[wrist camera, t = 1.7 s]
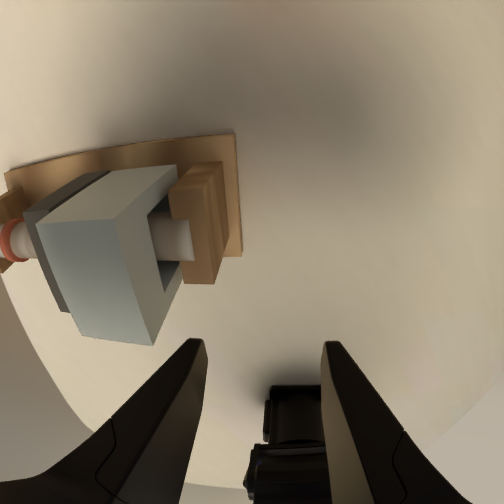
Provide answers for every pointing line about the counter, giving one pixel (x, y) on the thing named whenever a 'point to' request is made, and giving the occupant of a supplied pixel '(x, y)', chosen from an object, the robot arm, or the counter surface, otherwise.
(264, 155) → the counter surface
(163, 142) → the wooden rail stand
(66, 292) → the sleeve
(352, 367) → the robot arm
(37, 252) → the collar
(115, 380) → the counter surface
